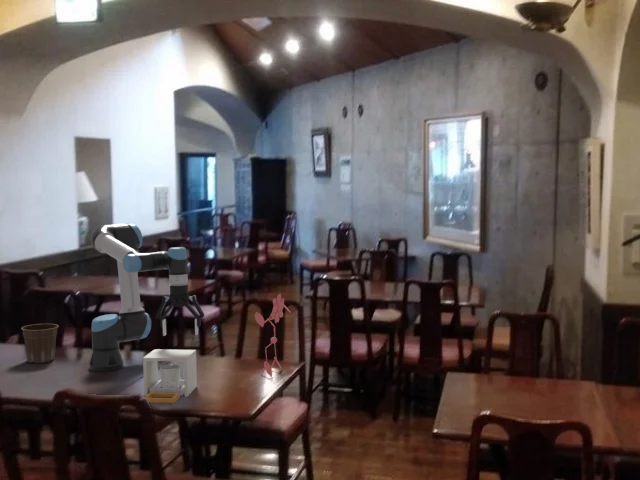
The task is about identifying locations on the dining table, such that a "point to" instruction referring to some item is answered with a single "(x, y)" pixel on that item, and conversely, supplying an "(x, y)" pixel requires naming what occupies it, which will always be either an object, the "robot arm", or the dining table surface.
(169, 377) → the white cup
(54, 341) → the plant pot
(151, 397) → the frame
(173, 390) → the square frame with handle
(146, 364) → the tunnel
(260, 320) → the figurine
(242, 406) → the dining table surface
